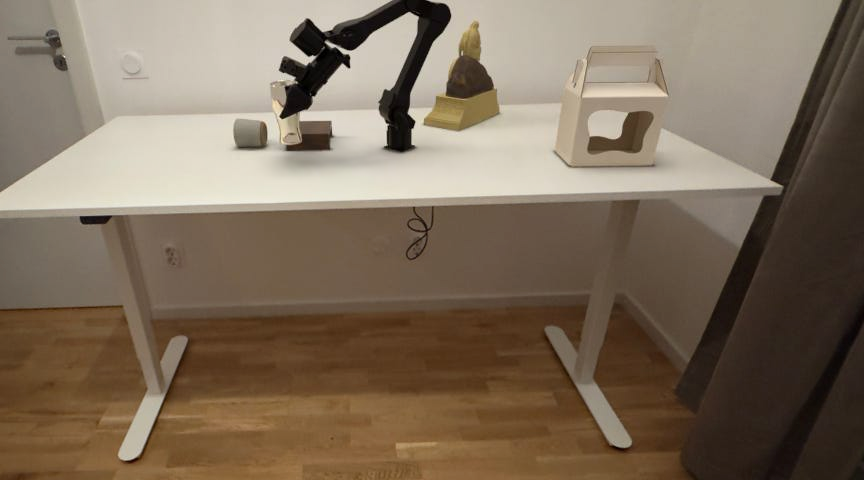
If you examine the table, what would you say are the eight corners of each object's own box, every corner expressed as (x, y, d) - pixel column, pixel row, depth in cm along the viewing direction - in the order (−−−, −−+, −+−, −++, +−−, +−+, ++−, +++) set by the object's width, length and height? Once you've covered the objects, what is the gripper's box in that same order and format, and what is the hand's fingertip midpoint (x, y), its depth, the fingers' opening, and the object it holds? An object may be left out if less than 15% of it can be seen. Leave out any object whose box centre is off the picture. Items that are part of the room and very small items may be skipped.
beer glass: (302, 145, 138) (294, 85, 130) (275, 146, 138) (266, 86, 130) (306, 136, 144) (299, 79, 136) (281, 137, 144) (272, 80, 136)
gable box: (568, 166, 137) (587, 50, 123) (553, 151, 148) (569, 42, 134) (653, 165, 138) (682, 49, 124) (631, 150, 149) (655, 42, 135)
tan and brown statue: (466, 107, 192) (472, 16, 177) (499, 113, 186) (507, 18, 171) (423, 124, 173) (426, 23, 158) (458, 131, 166) (464, 25, 151)
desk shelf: (332, 135, 161) (330, 105, 157) (329, 149, 149) (327, 117, 145) (292, 136, 161) (289, 106, 156) (286, 150, 149) (283, 118, 144)
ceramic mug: (264, 149, 149) (260, 122, 145) (235, 149, 149) (230, 122, 145) (272, 139, 158) (269, 113, 155) (244, 139, 158) (240, 113, 155)
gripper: (300, 39, 137) (263, 84, 142) (291, 50, 121) (250, 100, 126) (333, 71, 141) (296, 114, 147) (329, 85, 125) (287, 132, 130)
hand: (282, 114), depth 137 cm, fingers closed on beer glass, 6 cm apart
